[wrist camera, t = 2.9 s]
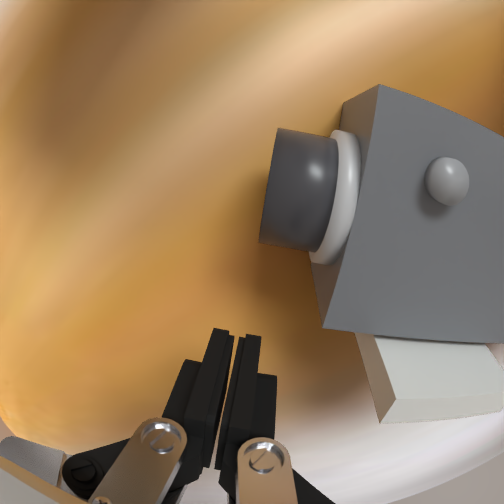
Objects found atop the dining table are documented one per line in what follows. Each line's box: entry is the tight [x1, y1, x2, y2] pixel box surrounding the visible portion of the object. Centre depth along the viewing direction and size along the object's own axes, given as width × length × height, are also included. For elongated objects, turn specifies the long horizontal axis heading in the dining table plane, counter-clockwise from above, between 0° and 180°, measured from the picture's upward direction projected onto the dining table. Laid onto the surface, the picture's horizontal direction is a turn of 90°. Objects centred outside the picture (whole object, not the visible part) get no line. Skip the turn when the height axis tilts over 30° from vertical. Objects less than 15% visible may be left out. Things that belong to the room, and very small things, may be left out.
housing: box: [259, 84, 504, 343], centre depth 12 cm, size 21×11×7 cm, turn 81°
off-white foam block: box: [354, 332, 504, 423], centre depth 12 cm, size 7×2×8 cm, turn 81°
